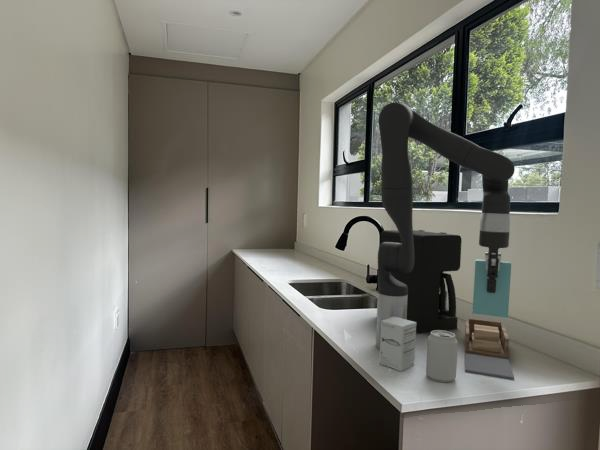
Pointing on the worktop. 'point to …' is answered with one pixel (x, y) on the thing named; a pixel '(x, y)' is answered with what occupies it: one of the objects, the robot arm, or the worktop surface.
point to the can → (441, 356)
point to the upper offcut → (486, 333)
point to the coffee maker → (430, 279)
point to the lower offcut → (485, 345)
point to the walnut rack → (468, 349)
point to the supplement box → (397, 343)
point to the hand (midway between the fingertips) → (490, 291)
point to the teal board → (491, 301)
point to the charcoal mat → (488, 366)
